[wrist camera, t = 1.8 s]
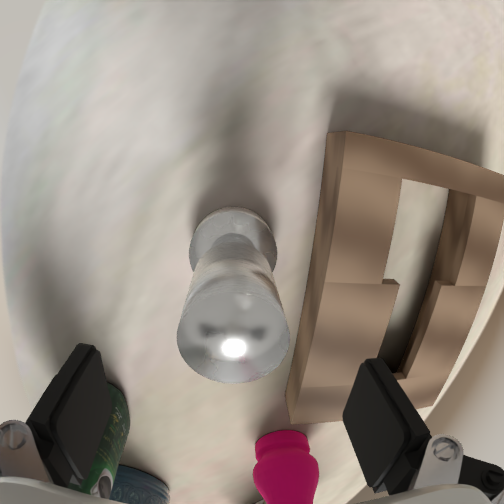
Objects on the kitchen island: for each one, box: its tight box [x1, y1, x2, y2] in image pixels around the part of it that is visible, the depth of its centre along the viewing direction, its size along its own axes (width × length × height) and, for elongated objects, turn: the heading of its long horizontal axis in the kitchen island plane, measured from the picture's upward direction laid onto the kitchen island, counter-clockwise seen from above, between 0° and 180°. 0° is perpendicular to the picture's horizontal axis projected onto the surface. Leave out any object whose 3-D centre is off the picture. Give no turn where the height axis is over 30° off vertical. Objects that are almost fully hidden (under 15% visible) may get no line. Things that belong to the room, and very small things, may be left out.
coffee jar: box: [67, 383, 130, 500], centre depth 19 cm, size 10×8×19 cm
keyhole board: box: [285, 131, 504, 424], centre depth 23 cm, size 24×16×4 cm, turn 175°
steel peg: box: [177, 207, 290, 383], centre depth 17 cm, size 6×6×12 cm
